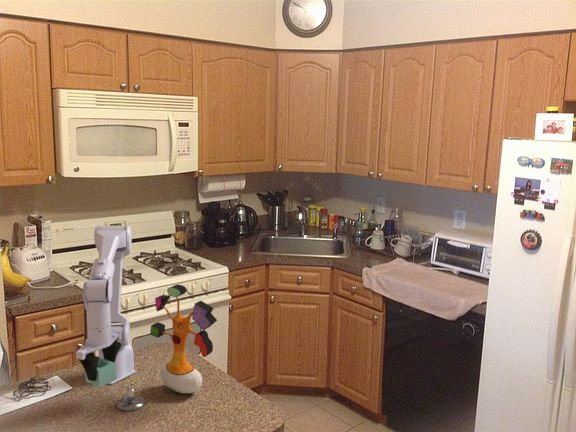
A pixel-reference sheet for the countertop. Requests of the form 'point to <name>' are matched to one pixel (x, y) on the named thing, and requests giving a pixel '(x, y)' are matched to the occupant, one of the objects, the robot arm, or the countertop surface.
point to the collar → (104, 373)
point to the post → (130, 401)
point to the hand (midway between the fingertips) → (100, 374)
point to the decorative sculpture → (184, 342)
